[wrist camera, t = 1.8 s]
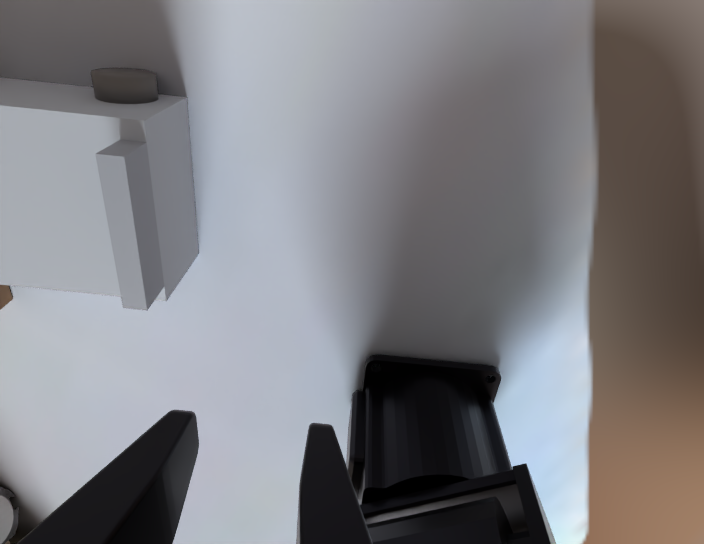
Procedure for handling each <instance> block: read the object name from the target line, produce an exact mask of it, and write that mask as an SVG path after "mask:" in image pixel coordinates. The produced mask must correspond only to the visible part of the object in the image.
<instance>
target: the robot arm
mask: <svg viewBox="0 0 704 544" xmlns="http://www.w3.org/2000/svg"><path fill="white" fill-rule="evenodd" d="M374 364H378V365H380V366H377V367H375V366H373V365H374ZM489 375H493V376H492V377H487V376H489ZM500 381H501V376H500V373H499V370H498V369H497V368H496V367H494V366H489V365H479V364H469V363H458V362H448V361H438V360H427V359H417V358H407V357H396V356H386V355H372V356H369V357H368V358H367V360H366V364H365V371H364V379H363V386H362V391H359V390H357V391H356V392H354V393H353V395H352V403H351V411H350V419H349V427H348V444H347V461H346V464H345V461H344V458H343V455H342V452H341V449H340V446H339V443H338V440H337V437H336V434H335V431H334V429H333V427H332V426H331V425H329V424H320V423H312V424H310V426H309V429H308V435H307V441H306V447H305V453H304V459H303V465H302V471H301V478H300V486H299V504H298V522H297V540H296V544H556V542H555V539H554V536H553V533H552V531H551V528H550V525H549V523H548V520H547V517H546V515H545V512H544V509H543V507H542V504H541V501H540V499H539V496H538V493H537V491H536V488H535V485H534V483H533V480H532V477H531V475H530V472H529V469H528V467H527V464H522V465H517V466H513V469H512V467H511V464H510V460H509V457H508V453H507V450H506V446H505V443H504V440H503V436H502V433H501V429H500V426H499V422H498V419H497V416H496V412H495V409H494V405H493V402H494V399H495V396H496V393H497V390H498V387H499V384H500ZM198 448H199V439H198V430H197V420H196V415H195V413H194V412H192V411H184V410H172V411H170V412H168V413H167V414H166V415H165V416H163V417H162V418H161V419H160V420H159V421H158V422H157V423H155V424H154V425H153V426H152V427H151V428H150V429H148V430H147V431H146V432H145V433H144V434H143V435H142V436H140V437H139V438H138V439H137V440H136V441H135V442H133V443H132V444H131V445H130V446H129V447H128V448H127V449H125V450H124V451H123V452H122V453H121V454H120V455H118V456H117V457H116V458H115V459H114V460H113V461H112V462H110V463H109V464H108V465H107V466H106V467H105V468H103V469H102V470H101V471H100V472H99V473H98V474H97V475H95V476H94V477H93V478H92V479H91V480H90V481H88V482H87V483H86V484H85V485H84V486H83V487H81V488H80V489H79V490H78V491H77V492H76V493H75V494H73V495H72V496H71V497H70V498H69V499H68V500H66V501H65V502H64V503H63V504H62V505H61V506H60V507H58V508H57V509H56V510H55V511H54V512H53V513H51V514H50V515H49V516H48V517H47V518H46V519H45V520H43V521H42V522H41V523H40V524H39V525H38V526H36V527H35V528H34V529H33V530H32V531H31V532H30V533H28V534H27V535H26V536H25V537H24V538H23V539H21V540H20V541H19V542H18V543H17V544H172V543H173V540H174V537H175V533H176V530H177V527H178V523H179V519H180V516H181V512H182V509H183V505H184V501H185V498H186V494H187V490H188V487H189V483H190V480H191V476H192V472H193V469H194V465H195V461H196V458H197V454H198Z"/></svg>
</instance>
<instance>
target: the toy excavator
mask: <svg viewBox="0 0 704 544" xmlns="http://www.w3.org/2000/svg"><path fill="white" fill-rule="evenodd" d="M9 497H15V495H14V494H13V493H12V492H11V491H9V490H8V489H5V488H3V487H0V544H11V543H10V542H9V541H8V540H9V539H11V538H12V537H13V536H14V535H15V532H16V530H17V526H18V514H19V513H18V511H19V507H17V508H16V509H15V510H13V507H12V506H11V502H10V501H9ZM17 543H18V542H17ZM17 543H13V544H17Z"/></svg>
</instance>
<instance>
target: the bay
mask: <svg viewBox="0 0 704 544" xmlns="http://www.w3.org/2000/svg"><path fill="white" fill-rule="evenodd" d="M12 299H13V298H12V295H11V292H10V288H9V285H0V309H2V308H3V307H4V306H5V305H6V304H8V303H9V302H10V301H11V300H12Z"/></svg>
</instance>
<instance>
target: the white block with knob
mask: <svg viewBox="0 0 704 544" xmlns="http://www.w3.org/2000/svg"><path fill="white" fill-rule="evenodd" d="M91 76H92V82H93V87H87V86H77V85H68V84H58V83H49V82H40V81H30V80H21V79H12V78H2V77H0V285H9V286H19V287H29V288H39V289H49V290H58V291H68V292H78V293H88V294H98V295H107V296H117V297H121V299H122V305H123V308H129V309H138V310H148V309H149V307H150V306H151V304H152V303H153V302H154V300H157V301H167V300H168V298H169V297H170V295H171V294H172V292H173V291H174V289H175V288H176V286H177V285H178V284H179V282H180V281H181V279H182V278H183V276H184V275H185V273H186V272H187V270H188V269H189V267H190V266H191V264H192V263H193V262H194V260H195V259H196V257H197V256H198V254H199V246H198V233H197V220H196V207H195V194H194V181H193V168H192V155H191V142H190V129H189V116H188V103H187V97H180V96H171V95H161V94H158V88H157V79H156V73H154V72H151V71H147V70H141V69H132V68H102V69H95V70H92V71H91Z"/></svg>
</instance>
